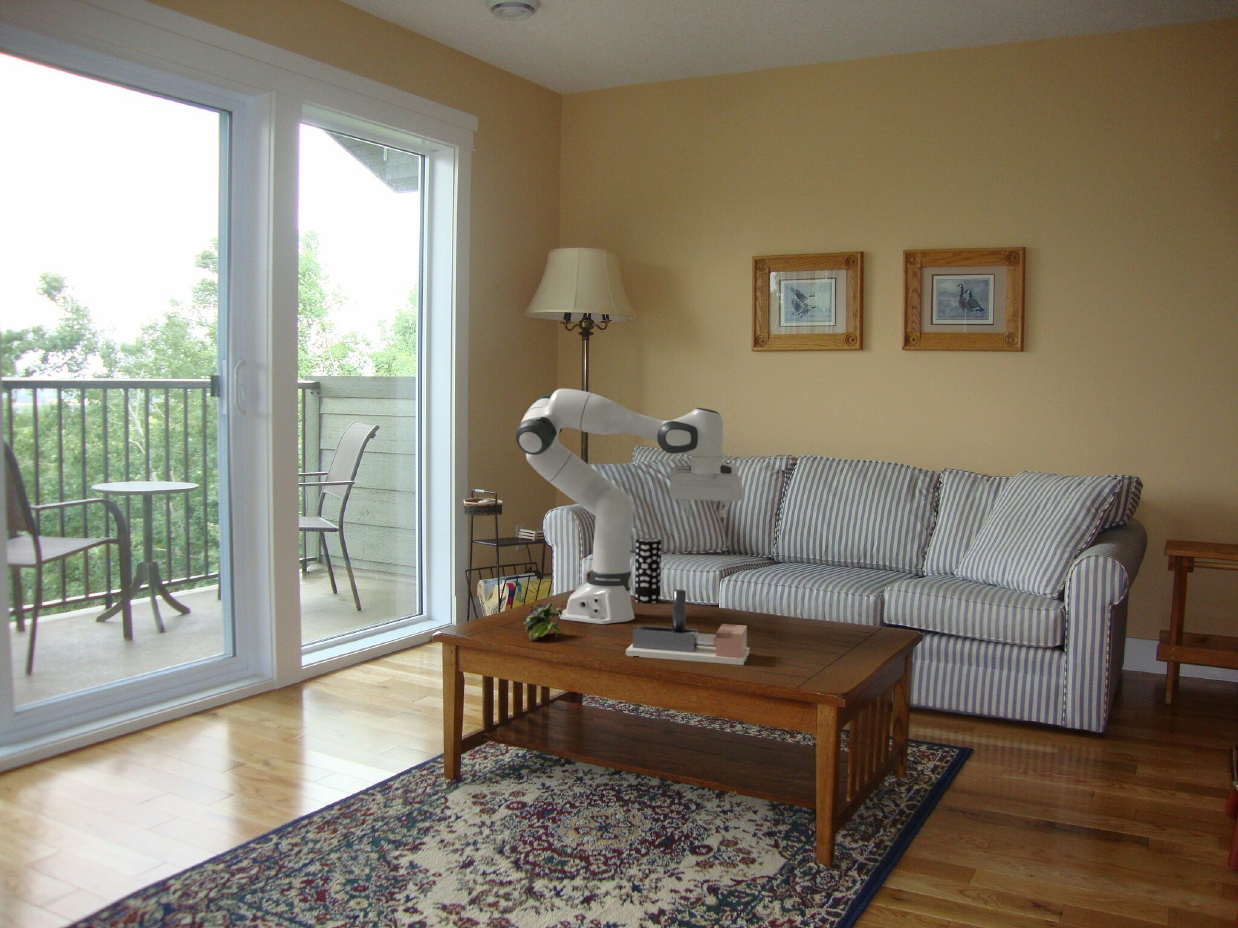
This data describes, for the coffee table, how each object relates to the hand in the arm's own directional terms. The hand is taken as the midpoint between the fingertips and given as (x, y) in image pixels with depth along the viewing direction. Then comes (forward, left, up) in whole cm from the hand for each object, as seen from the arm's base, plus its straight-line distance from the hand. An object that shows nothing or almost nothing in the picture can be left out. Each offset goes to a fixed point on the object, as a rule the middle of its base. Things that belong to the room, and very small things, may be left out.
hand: (705, 516), depth 280 cm
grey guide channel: (-6, -24, -32) cm, 40 cm away
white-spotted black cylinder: (-25, +40, -33) cm, 58 cm away
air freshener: (-42, +34, -33) cm, 64 cm away
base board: (0, -24, -33) cm, 41 cm away
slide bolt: (+4, -24, -31) cm, 39 cm away
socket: (+11, -24, -32) cm, 41 cm away
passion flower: (-41, -17, -33) cm, 55 cm away
